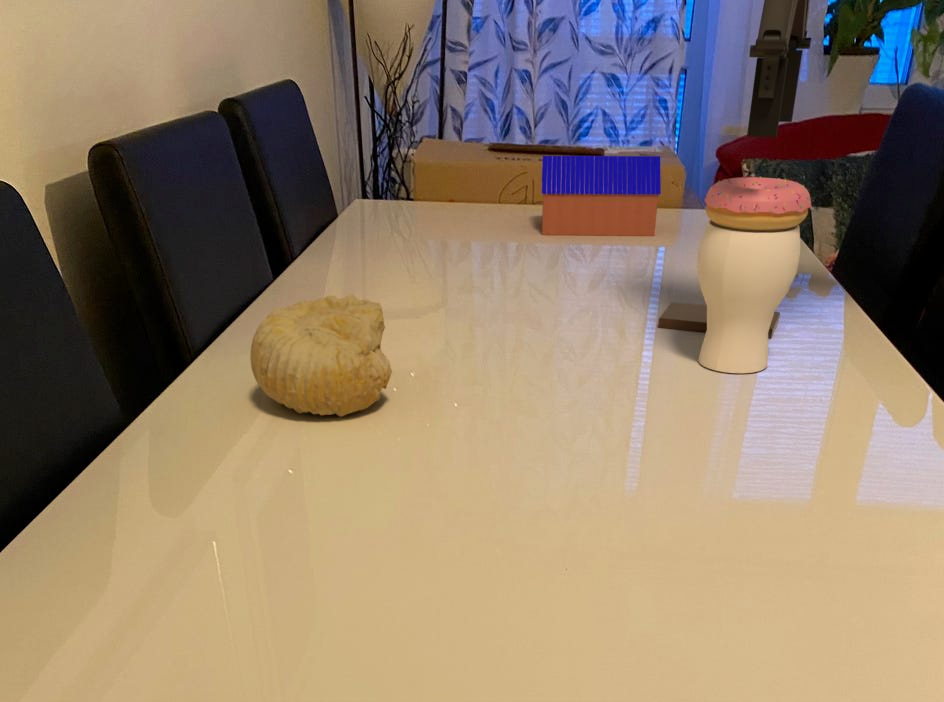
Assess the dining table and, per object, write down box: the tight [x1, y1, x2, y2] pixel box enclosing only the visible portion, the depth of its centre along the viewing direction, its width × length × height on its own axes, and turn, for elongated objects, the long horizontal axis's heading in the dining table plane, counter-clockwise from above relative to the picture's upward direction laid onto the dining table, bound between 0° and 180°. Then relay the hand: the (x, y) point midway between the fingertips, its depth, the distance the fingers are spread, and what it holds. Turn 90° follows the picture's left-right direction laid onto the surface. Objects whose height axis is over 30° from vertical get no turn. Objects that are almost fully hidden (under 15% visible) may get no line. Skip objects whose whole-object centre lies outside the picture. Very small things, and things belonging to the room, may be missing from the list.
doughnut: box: [703, 175, 812, 231], centre depth 104 cm, size 11×11×4 cm
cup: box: [696, 219, 802, 374], centre depth 109 cm, size 11×11×15 cm
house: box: [541, 155, 662, 237], centre depth 172 cm, size 12×20×12 cm, turn 86°
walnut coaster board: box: [657, 301, 781, 340], centre depth 126 cm, size 14×8×1 cm, turn 69°
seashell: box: [249, 294, 393, 418], centre depth 102 cm, size 17×11×15 cm
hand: (770, 129), depth 100 cm, fingers open, 13 cm apart
